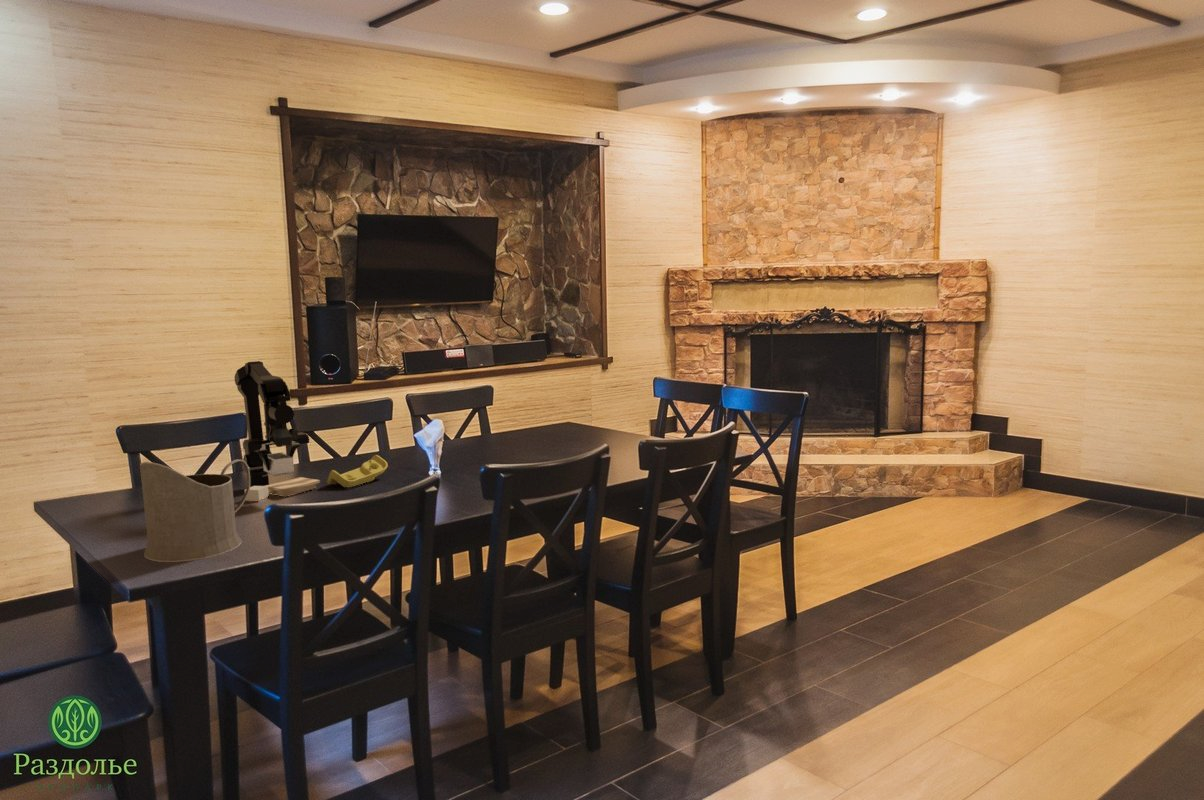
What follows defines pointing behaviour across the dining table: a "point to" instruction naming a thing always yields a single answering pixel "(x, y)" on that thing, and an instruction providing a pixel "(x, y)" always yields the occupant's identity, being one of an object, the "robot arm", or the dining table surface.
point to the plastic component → (359, 473)
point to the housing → (279, 464)
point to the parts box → (257, 493)
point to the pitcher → (188, 513)
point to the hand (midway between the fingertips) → (278, 468)
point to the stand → (292, 486)
